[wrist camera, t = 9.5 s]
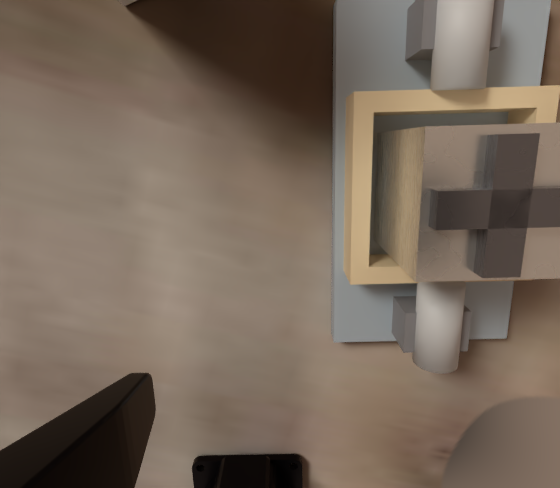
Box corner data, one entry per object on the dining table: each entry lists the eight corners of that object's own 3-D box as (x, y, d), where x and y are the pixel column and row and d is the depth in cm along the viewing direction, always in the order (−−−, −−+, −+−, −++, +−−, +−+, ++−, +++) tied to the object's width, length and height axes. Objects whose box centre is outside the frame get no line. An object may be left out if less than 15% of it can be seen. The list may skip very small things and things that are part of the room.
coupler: (488, 129, 17) (608, 120, 11) (476, 237, 19) (578, 284, 12) (377, 132, 17) (433, 125, 11) (373, 239, 19) (421, 288, 12)
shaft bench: (496, 329, 21) (544, 371, 17) (331, 333, 21) (342, 375, 17) (537, -1, 17) (612, -44, 13) (333, 6, 17) (348, -35, 13)
